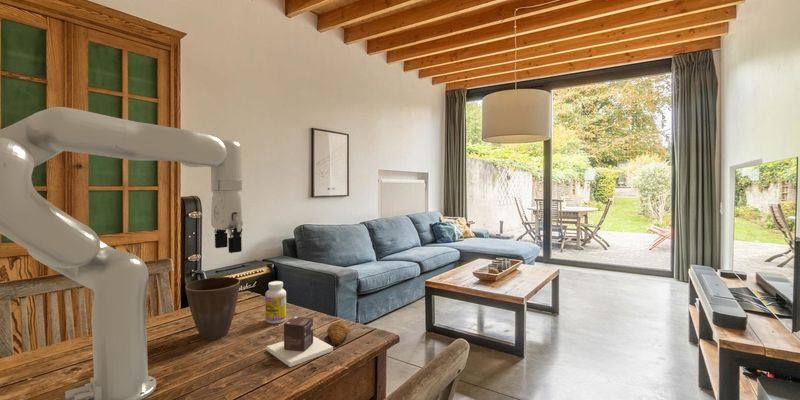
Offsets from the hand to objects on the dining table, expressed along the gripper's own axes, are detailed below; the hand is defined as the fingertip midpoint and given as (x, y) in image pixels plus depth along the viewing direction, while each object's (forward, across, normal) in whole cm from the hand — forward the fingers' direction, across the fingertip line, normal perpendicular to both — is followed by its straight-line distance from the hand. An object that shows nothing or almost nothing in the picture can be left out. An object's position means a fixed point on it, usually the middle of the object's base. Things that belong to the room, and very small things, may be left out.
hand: (228, 249), depth 103 cm
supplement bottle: (+28, -13, +20) cm, 37 cm away
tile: (+28, +13, +14) cm, 34 cm away
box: (+27, +13, +14) cm, 33 cm away
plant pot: (+28, -15, +1) cm, 32 cm away
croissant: (+29, +12, +27) cm, 42 cm away
